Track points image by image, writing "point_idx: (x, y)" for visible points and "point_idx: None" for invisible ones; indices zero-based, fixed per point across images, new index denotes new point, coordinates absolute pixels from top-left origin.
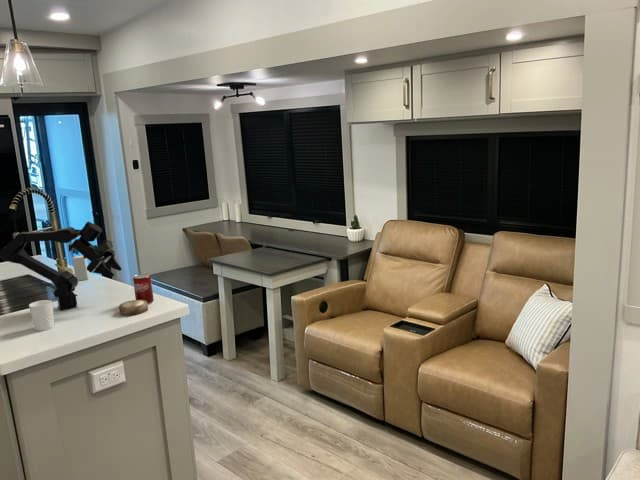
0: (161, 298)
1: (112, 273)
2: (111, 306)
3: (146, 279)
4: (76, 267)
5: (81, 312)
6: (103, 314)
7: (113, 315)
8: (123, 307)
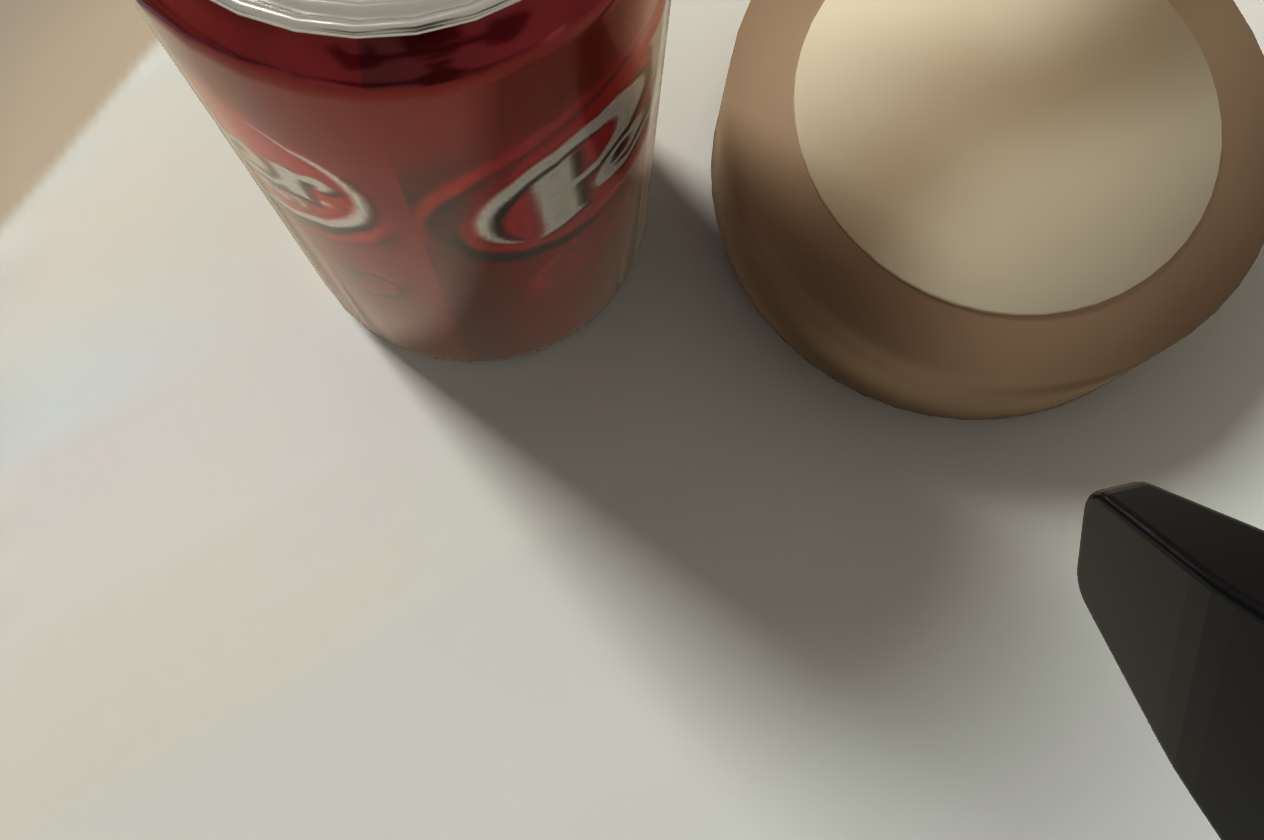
0: None
1: (1239, 526)
2: (723, 833)
3: None
4: None
5: None
6: None
7: (1215, 451)
8: (1216, 206)
